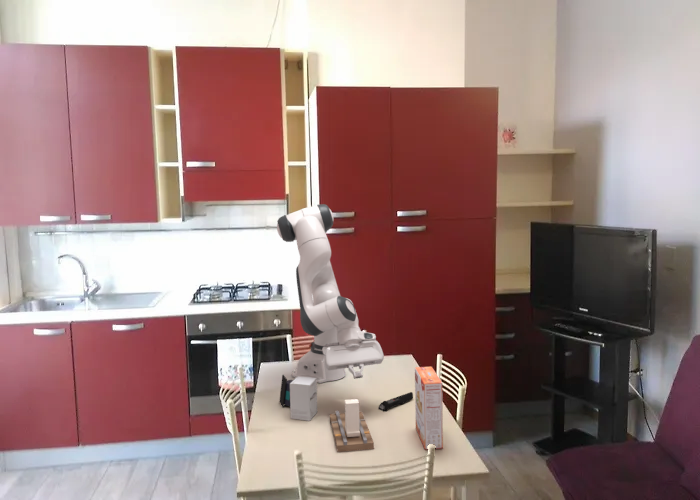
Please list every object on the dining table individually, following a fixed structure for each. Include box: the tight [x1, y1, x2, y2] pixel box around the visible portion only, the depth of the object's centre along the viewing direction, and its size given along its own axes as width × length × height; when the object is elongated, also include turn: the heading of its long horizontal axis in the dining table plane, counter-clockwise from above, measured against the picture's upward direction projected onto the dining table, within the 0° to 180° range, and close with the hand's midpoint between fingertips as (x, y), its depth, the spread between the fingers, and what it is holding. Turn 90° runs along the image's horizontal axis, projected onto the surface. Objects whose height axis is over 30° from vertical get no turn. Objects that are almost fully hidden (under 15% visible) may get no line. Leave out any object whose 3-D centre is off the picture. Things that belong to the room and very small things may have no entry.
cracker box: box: [414, 366, 444, 451], centre depth 163 cm, size 14×6×21 cm, turn 4°
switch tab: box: [344, 398, 360, 437], centre depth 164 cm, size 5×4×10 cm
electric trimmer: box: [378, 391, 414, 413], centre depth 190 cm, size 4×16×3 cm, turn 129°
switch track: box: [329, 410, 375, 453], centre depth 169 cm, size 22×11×3 cm, turn 8°
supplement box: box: [289, 376, 318, 422], centre depth 182 cm, size 7×7×13 cm
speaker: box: [278, 374, 294, 408], centre depth 191 cm, size 8×6×10 cm
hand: (358, 377), depth 178 cm, fingers closed
